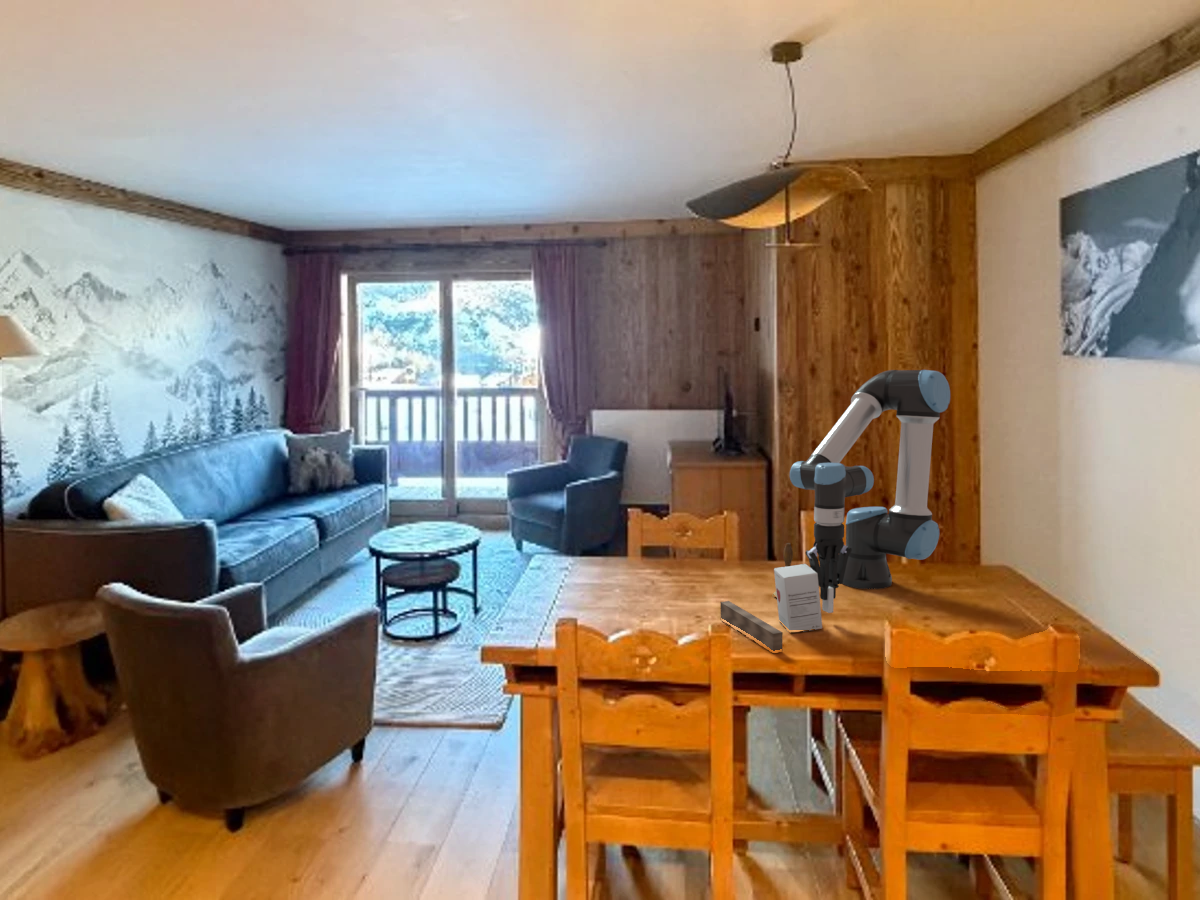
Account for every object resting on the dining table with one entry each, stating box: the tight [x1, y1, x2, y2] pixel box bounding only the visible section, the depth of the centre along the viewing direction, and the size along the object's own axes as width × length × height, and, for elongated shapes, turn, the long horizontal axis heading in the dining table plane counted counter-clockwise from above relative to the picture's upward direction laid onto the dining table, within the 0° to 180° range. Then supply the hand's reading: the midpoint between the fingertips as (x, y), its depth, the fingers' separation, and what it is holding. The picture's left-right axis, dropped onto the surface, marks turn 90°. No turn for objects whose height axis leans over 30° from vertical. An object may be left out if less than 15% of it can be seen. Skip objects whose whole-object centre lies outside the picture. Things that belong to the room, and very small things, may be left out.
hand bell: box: [773, 542, 794, 597], centre depth 231 cm, size 8×8×16 cm
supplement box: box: [773, 563, 823, 631], centre depth 206 cm, size 9×9×15 cm
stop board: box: [720, 600, 783, 651], centre depth 202 cm, size 26×2×5 cm, turn 20°
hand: (827, 610), depth 210 cm, fingers closed
